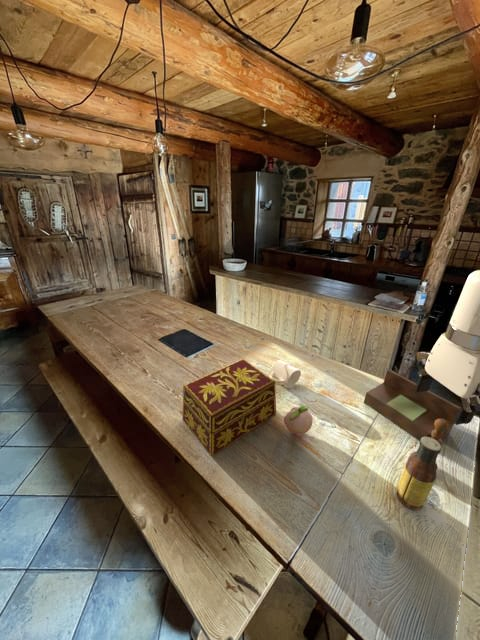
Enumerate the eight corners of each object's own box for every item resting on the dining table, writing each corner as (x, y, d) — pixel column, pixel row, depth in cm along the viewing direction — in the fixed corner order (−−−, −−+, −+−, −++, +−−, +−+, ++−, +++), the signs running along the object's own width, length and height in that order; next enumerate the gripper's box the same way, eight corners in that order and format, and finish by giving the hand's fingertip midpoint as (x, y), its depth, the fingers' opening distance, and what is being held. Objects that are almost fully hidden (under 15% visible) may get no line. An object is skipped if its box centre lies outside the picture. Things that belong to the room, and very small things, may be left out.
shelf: (449, 433, 88) (462, 408, 83) (431, 449, 82) (444, 423, 78) (382, 391, 106) (389, 368, 102) (363, 402, 101) (370, 379, 96)
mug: (282, 371, 117) (283, 356, 114) (299, 381, 111) (302, 366, 108) (264, 383, 110) (265, 367, 106) (281, 394, 104) (283, 378, 100)
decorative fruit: (301, 447, 82) (305, 424, 78) (279, 433, 87) (281, 410, 83) (315, 429, 89) (319, 406, 84) (293, 417, 94) (297, 395, 89)
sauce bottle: (428, 505, 68) (457, 452, 59) (411, 515, 65) (438, 461, 57) (405, 482, 73) (429, 430, 64) (389, 490, 71) (410, 437, 62)
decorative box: (211, 457, 79) (209, 420, 72) (181, 419, 92) (178, 384, 85) (276, 414, 94) (280, 380, 88) (243, 387, 107) (244, 356, 101)
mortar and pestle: (403, 460, 79) (422, 415, 71) (419, 453, 81) (439, 409, 73) (424, 480, 73) (447, 434, 66) (440, 472, 76) (464, 427, 68)
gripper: (540, 360, 43) (495, 435, 51) (446, 316, 58) (421, 378, 66) (504, 365, 42) (463, 441, 49) (417, 318, 57) (395, 382, 64)
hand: (439, 405), depth 58 cm, fingers open, 9 cm apart
